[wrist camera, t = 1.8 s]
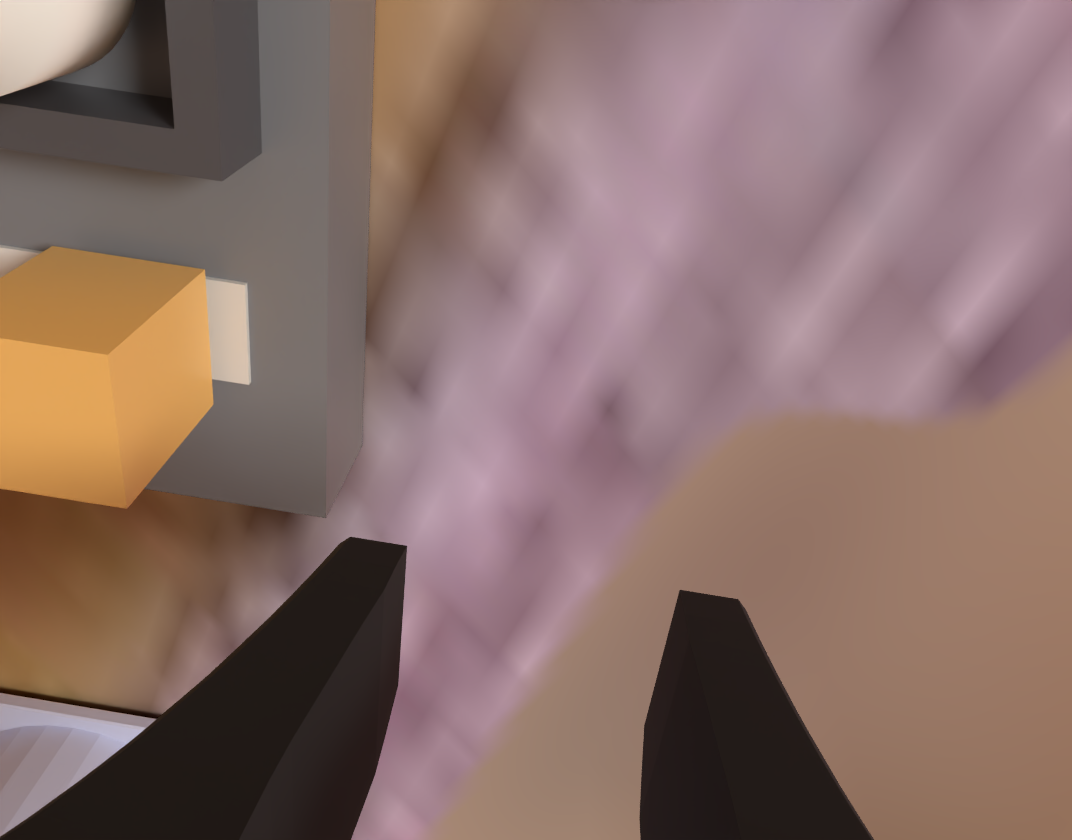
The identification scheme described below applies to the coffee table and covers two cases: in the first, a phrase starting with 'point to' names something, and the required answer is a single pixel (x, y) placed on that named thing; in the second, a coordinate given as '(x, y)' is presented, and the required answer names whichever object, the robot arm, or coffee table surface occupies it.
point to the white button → (56, 37)
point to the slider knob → (99, 372)
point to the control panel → (225, 217)
